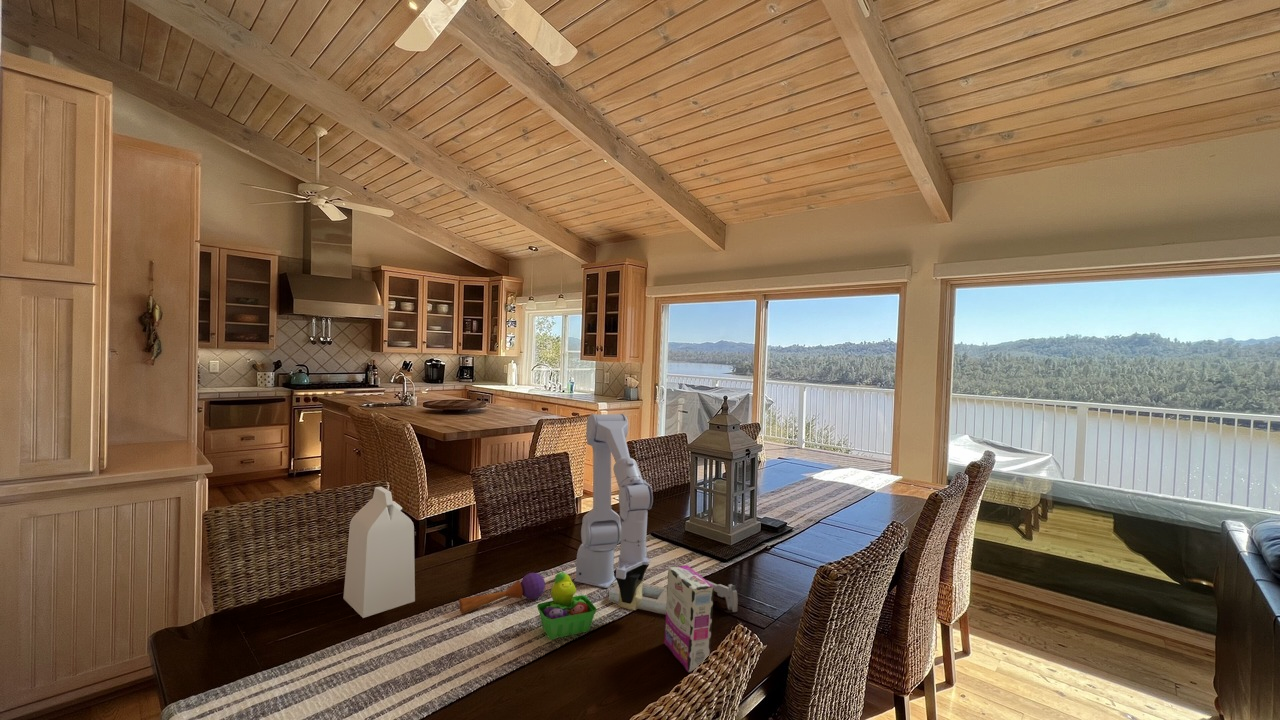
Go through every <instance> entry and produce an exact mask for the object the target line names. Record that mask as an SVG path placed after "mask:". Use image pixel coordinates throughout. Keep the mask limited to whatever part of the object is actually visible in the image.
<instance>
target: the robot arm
mask: <svg viewBox="0 0 1280 720" xmlns="http://www.w3.org/2000/svg"><path fill="white" fill-rule="evenodd" d="M585 426H586V428H585V429H586V432H585V433H586V439H585V440H586V444H587V445H588V446H591V447H592V448H591V449H592V509H591V510H590V511H588V512H587V513H586V514H584V516H582V523H581V530H580V537H581V544H580V545H579V547H578V549H577V553H576V562H575V563H576V564H575V578H574V579H573V580H574V582H575V583H576V582H577V583H579V584H585V585H591V586H594V587H599V588H603V589H608V588H609V587H610V586H611V585H612V584H613V583H614V582H615V581H616V582H617V583H618V585H619V589H620V594H621V599H622V602H624V603H629V604H631V603H632V600H633V595H634V590H635V585H636V582H637V580H642V581H643V579H644V577H645V573H646V572H647V569H648V567H649V566H650V563H651V559H650V558H648V557H647V555H648V547H647V531H648V530H647V529H648V513H649V512H648V510H649V511H650V510H651V509H652V506H653V503H654V496H653V495H654V494H653V490H652V486H651V484H650V483H649V482H647V480H645V479H643V477H642V475H641V470H640V468H639V466H638V463H637V461H636V460H635V459H634V458H632V457H630V455H631V454H630V452H629V448H628V442H627V436H628V432H629V420H628V417H627V415H626V414H625V413H620V414H619V413H618V414H614V413H613V414H611V413H610V414H606V413H602V414H594V413H591V414H589V415H588V418H587V421H586V425H585ZM612 457H613V460H614V462H615V463H614V465H613V469H612ZM612 470H613V474H614V476H615V479H616V483H617V485H618V490H619V492H618V505H619V514H618V512H616V511H615V510H613V509H612ZM618 545H619V547H620V548H619V555H618V565H617V568H615V569H614V566H615V565H614V564H615V562H614V561H615V549H617V546H618Z"/></svg>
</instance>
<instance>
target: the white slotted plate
mask: <svg viewBox="0 0 1280 720" xmlns="http://www.w3.org/2000/svg"><path fill="white" fill-rule="evenodd" d="M608 592H609V593H608V602H609V603H611V602H613V603H612V604H617V605H619V585H618V582H617V583H615V584H614V586H613V587H612V588H611V589H610V591H608ZM666 602H667V587H664V586H658V585H655V584H654V585H653V584H649V583H643V585H642V602H641V604H640V605H639V606H638V608H637V609H638V610H642V611H648V612H653V613H656V614H661V615H665V616H666Z"/></svg>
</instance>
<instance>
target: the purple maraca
mask: <svg viewBox="0 0 1280 720" xmlns="http://www.w3.org/2000/svg"><path fill="white" fill-rule="evenodd" d="M545 581H546V580H545V579H544V576H543V575H541V574H539V573H538V572H529V573H526V575H524V576H523V577H522V579H521V581H520V580H516V582H514V583H513V584H512V585H511V586H509V587H508V588H507V589H506V590H504V591H499V592H494V593H487V594H482V595H481V594H480V595H475V596H470V597H463V598H459V601H458V605H459V611H461V612H460V614H461V615H464V614H466V613H469V612H471V611H474V610H476V609H479V608H481V607H484V606H485V605H488V604H491V603H493V602H495V601H497V600H500V599H502V598H505V597H507V598H513V599H514V598H515V599H521V600H522V599H523V597H524V598H525V599H527V600H536V599H538V598H539V597H540V596H542V595H543V594H544V592H545V590H546V589H545V588H546V582H545Z"/></svg>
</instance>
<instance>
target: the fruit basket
mask: <svg viewBox="0 0 1280 720" xmlns="http://www.w3.org/2000/svg"><path fill="white" fill-rule="evenodd" d="M576 593H577V588H576V586H575V583H574V582H573V581H572V578H571V577H570V575H569V574H567V573H565V572H564V571H561V572H558V573H557V574H555V577H554V583H553V585H552V587H551V593H550V595H551V598H552V600H550V601H545V602H541V603H538V604H537V610H538V612H539V616H540V621H541V626H542V629H543V630H544V632H545V634H546V635H547V637H548V639H549V640H554V639H555V640H556V639H558V638H564V636H565V637H567V636H573V635H577V634H581V633H586V632H589V631H590V629H591V626H592V622H593V619H594V616H595V615H596V612H597V610H598V609H597V607H596V606H595V605H594V604H593V602H592V601H591V600H590V599H589V598H588V596H587V595H583V594H581V595H576V596H574V595H575V594H576Z"/></svg>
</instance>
